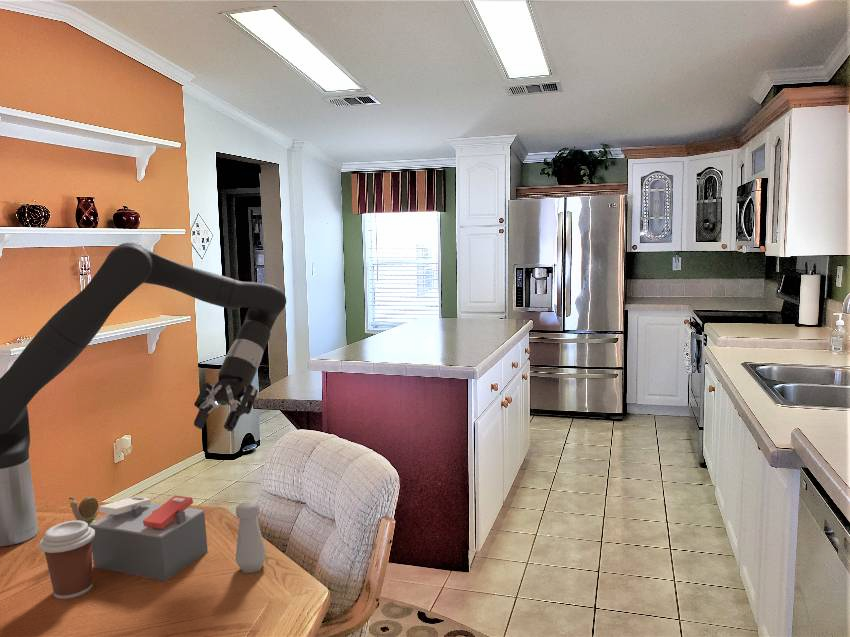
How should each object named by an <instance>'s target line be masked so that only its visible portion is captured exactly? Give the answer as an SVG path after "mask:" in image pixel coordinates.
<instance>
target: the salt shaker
mask: <svg viewBox="0 0 850 637" xmlns="http://www.w3.org/2000/svg"><path fill="white" fill-rule="evenodd" d="M259 512H260V508H259V503H257V502H255V501H245V502H241V503H239V504H238V505H237V506H236V508H235V514H236V515H235V516H236V518H237V519H239V522H238V529H237V530H238V531H237V532H238V534H237V543H236V550H235V563H236V564H237V566H238V567H239V568H240V570H241V571H242V573H244V574H253V573H255V572H258V571H261V569H262V568H263V565H264V563H265V562H266V561H265V560H266V558H267V551H266V548H265V543H264V539H263V535H262V532H261V527H260V524H259V521H258V515H259Z"/></svg>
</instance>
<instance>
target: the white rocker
mask: <svg viewBox="0 0 850 637" xmlns="http://www.w3.org/2000/svg"><path fill="white" fill-rule="evenodd" d="M151 501H152V498H148V497H140V496H132V497H127V498H125V499H121V500H118V501H114V502H110V503H106V504H101V505H98V508H99V509H98V510H99V511H98V513H102V514H106V515H108V514H113V515H118V514H121V513H124V512H128V511H131V510H132V508H134V507H136V506H138V505H140V506H141V507H144V506H148V505H151V503H152V502H151Z"/></svg>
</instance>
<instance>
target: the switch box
mask: <svg viewBox="0 0 850 637" xmlns="http://www.w3.org/2000/svg"><path fill="white" fill-rule="evenodd" d="M163 504H164V503H156V502H151V505H148V506H144V507H141V506H140V505H138V506H136V507H134V508H132V510H131V511H128V512H124V513H121V514H118V515H113V514H106V515H104V516H103V517H101V518H99V519H96V520H97V521H95V522H93V523H91V524H89V527H91V528H92V529H94V530H95V538H94V539H93V540H92V564H93V568H96V569H101V570H107V571H111V572H117V573H122V574H125V575H126V574H127V575H132V576H138V577H141V578H147V579H153V580H158V581H163V582H166V581H168V580H170V578H172V577H174V576H175V575H176V574H178V573H180V572H181V571H182V570H183V569H185V568H186V567H188V566H189V565H190V564H192V563H194V562H196V560H198V559H199V558H201V557H202V556H203V555H205V554H206V553H208V552H209V550H208V540H207V527H206V518H205V509H201V508H200V509H199V508H192V507H188V508H187V509H185V510H184V511H183V512H182V511H181V512H180V513H178V514H176V518H175V519H173V520H172V521H171V522H170V523H169V524H167V525H166V526H165V527H164V528H163V529H158V528H152V527H146V526H144V524H143V520H144V519H146V518H147V517H148V516H149V515H151V514H152V513H153V512H154V511H156V510H157V509H158V508H159V507H161V506H162V505H163Z"/></svg>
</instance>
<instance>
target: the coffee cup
mask: <svg viewBox="0 0 850 637" xmlns="http://www.w3.org/2000/svg"><path fill="white" fill-rule="evenodd" d="M94 538H95V530H94V529H92V528H91V527H88V523H86V522H85V521H79V520H69V521H64V522H61V523H57V524H54V525H53V526H51V527H49V528H48V529H47V530H45V533H44V537H43V538H42V539H41V540H40V541H39V545H38V546H39V550H41V552H43V553H44V556H45V559H46V564H47V569H48V574H49V577H50V582H51V587H52V591H53V597H55V598H56V599H58V600H67V599H73V598H77V597H79V596H82V595H84V594H86V593H87V592H89V591H90V590H91V589H92V587H93V584H94V583H93V554H92V540H93V539H94Z"/></svg>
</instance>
